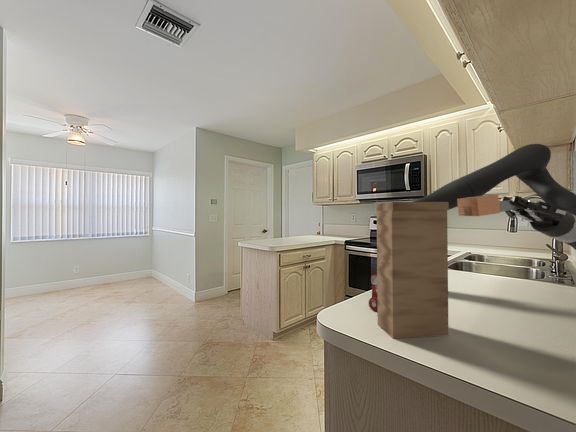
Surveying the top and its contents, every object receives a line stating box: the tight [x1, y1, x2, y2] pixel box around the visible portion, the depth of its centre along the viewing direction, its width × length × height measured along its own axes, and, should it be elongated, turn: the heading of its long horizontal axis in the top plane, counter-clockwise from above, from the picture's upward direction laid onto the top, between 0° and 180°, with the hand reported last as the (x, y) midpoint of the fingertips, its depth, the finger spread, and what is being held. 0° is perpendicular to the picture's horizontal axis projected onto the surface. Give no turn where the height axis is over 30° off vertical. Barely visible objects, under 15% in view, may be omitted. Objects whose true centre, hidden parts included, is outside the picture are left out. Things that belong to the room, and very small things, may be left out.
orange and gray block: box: [457, 194, 530, 217], centre depth 67 cm, size 6×17×4 cm, turn 99°
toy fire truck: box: [368, 274, 378, 312], centre depth 78 cm, size 7×12×10 cm, turn 31°
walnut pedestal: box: [375, 201, 450, 340], centre depth 66 cm, size 9×14×32 cm, turn 96°
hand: (507, 199), depth 67 cm, fingers closed on orange and gray block, 2 cm apart
